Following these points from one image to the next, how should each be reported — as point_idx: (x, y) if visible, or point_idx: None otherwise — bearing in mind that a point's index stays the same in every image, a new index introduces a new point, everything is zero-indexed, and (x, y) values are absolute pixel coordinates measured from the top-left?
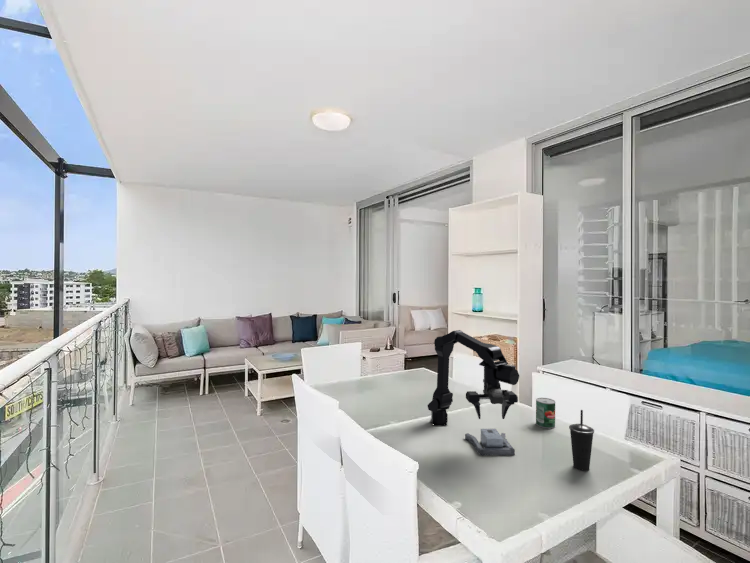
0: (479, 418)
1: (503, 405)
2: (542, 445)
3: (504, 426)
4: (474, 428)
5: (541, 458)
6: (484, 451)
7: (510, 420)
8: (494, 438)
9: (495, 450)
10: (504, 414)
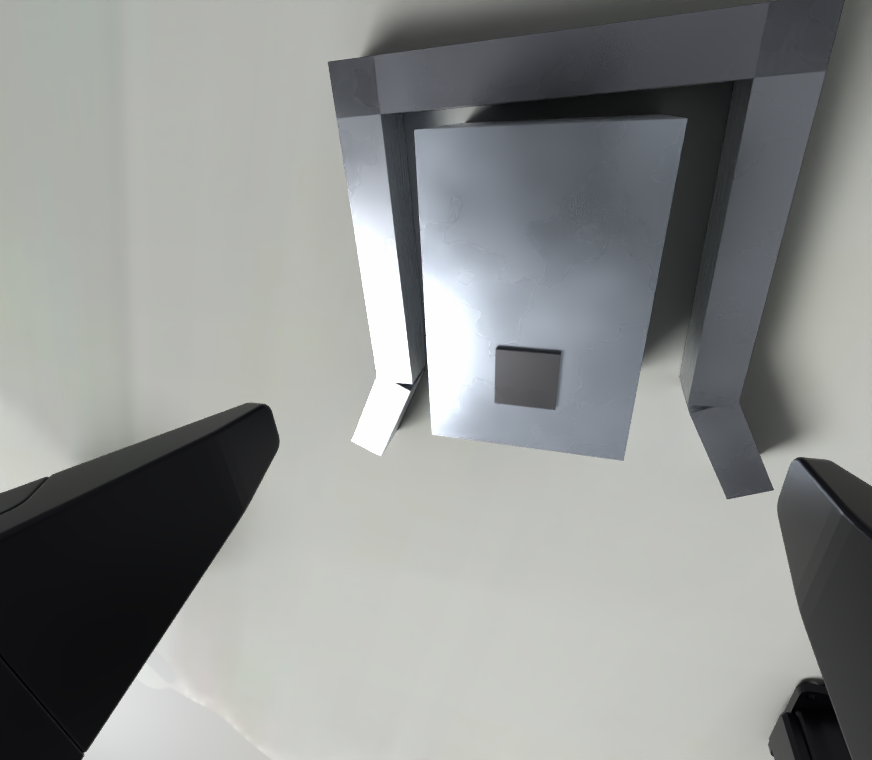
0: (834, 468)
1: (21, 676)
2: (125, 281)
3: (339, 570)
4: (566, 593)
5: (124, 4)
6: (748, 10)
7: (291, 620)
8: (547, 127)
9: (575, 28)
10: (172, 442)
